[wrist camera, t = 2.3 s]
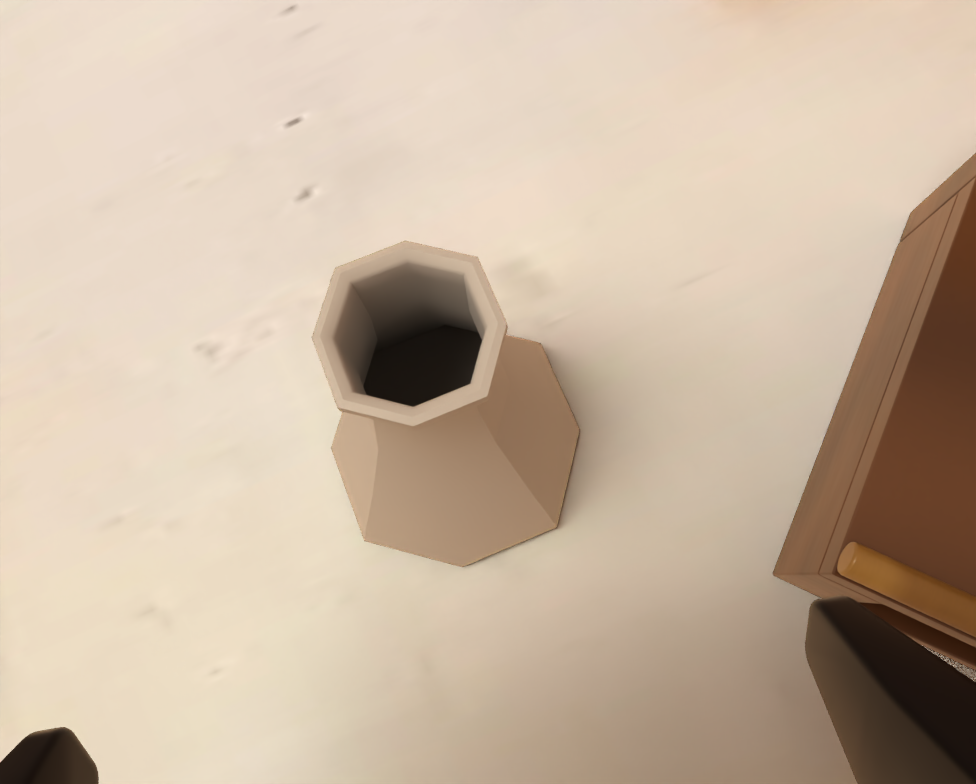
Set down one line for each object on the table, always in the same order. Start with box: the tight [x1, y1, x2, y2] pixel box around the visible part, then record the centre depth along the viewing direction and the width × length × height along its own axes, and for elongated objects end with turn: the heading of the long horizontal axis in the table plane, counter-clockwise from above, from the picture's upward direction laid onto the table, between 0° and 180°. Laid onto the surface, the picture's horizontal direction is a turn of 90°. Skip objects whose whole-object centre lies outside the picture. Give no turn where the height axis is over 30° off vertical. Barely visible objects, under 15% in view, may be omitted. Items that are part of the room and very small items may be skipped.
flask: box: [312, 241, 580, 567], centre depth 17 cm, size 7×7×10 cm
